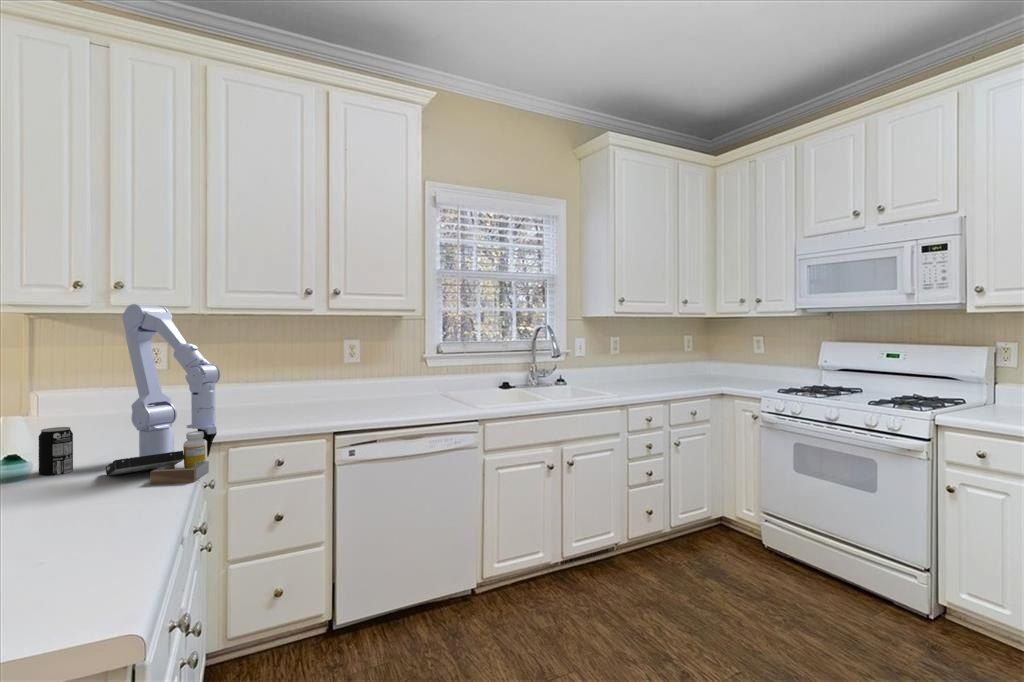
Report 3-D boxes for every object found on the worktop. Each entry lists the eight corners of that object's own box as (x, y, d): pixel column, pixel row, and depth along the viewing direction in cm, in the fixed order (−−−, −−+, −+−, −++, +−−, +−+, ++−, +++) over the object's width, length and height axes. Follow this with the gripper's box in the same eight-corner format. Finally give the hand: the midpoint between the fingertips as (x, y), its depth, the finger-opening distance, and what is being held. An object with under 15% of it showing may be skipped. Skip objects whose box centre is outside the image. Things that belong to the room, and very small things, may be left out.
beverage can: (45, 474, 136) (44, 427, 136) (76, 471, 138) (76, 425, 138) (33, 480, 130) (33, 431, 130) (67, 477, 132) (67, 429, 132)
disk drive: (115, 471, 127) (185, 460, 138) (114, 459, 127) (184, 449, 138) (105, 478, 133) (172, 466, 144) (104, 466, 134) (171, 456, 145)
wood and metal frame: (168, 474, 135) (168, 462, 135) (208, 472, 137) (208, 460, 137) (150, 484, 126) (150, 471, 126) (194, 482, 128) (194, 469, 128)
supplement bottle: (190, 466, 144) (189, 430, 143) (211, 465, 144) (210, 430, 144) (180, 471, 138) (178, 435, 138) (201, 471, 139) (200, 434, 138)
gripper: (179, 407, 148) (179, 455, 148) (195, 411, 138) (195, 463, 138) (207, 404, 153) (207, 451, 153) (224, 409, 143) (225, 459, 143)
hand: (203, 457), depth 146 cm, fingers closed
